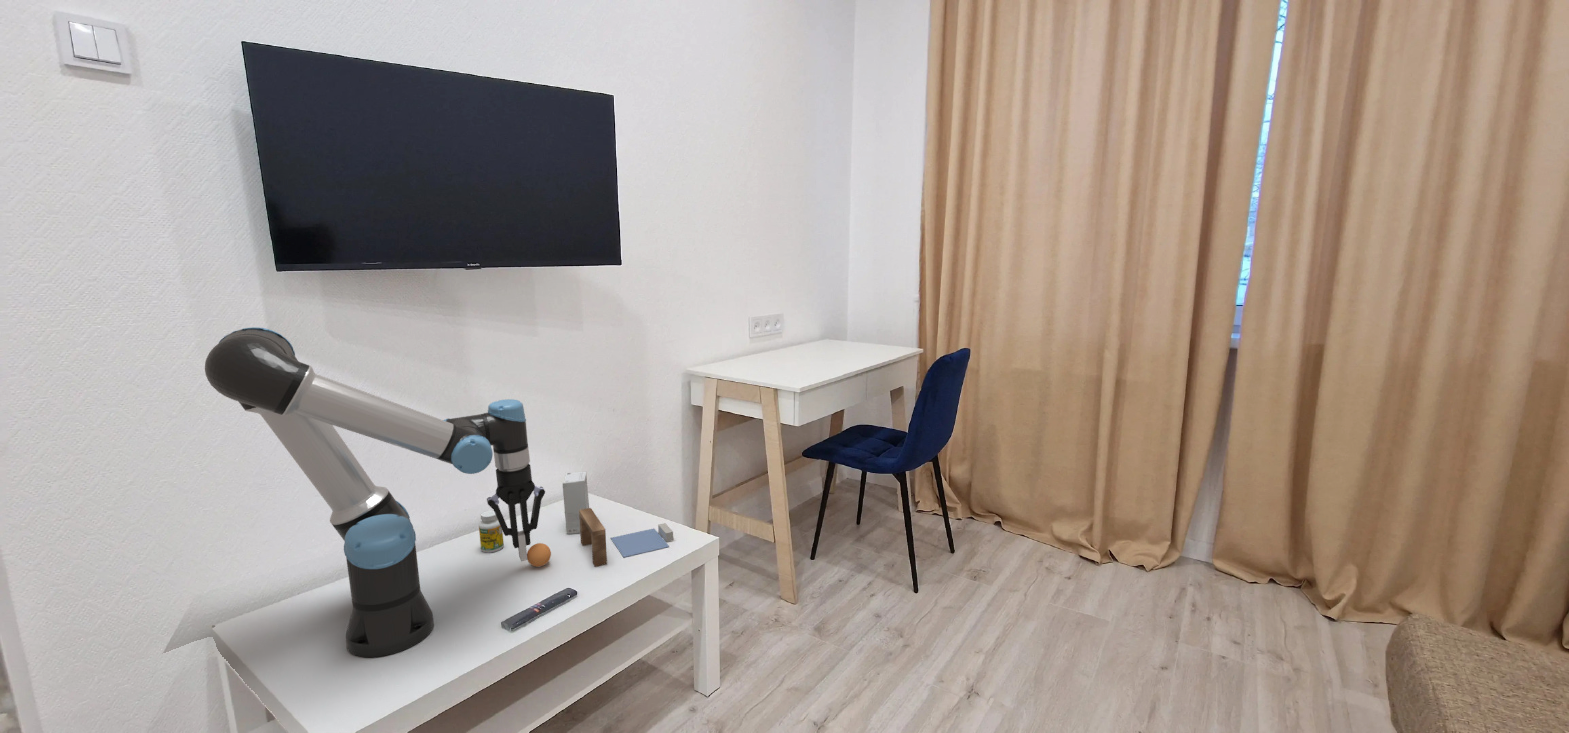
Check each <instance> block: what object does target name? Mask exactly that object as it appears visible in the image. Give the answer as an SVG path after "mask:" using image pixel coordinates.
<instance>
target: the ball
mask: <svg viewBox="0 0 1569 733" xmlns="http://www.w3.org/2000/svg"><path fill="white" fill-rule="evenodd" d="M551 556H552V551H551V548H550V547H549V546H548V545H547V544H545V543H543V542H538V543H535V544H532V545H531V546H530V547H529V548H528V550H527V559H528V560H527V562H528V563H529V564H530V565H531V566H533V567H536V568H538V567H540V568H541V567H543V566H545V565H546V564H548V562H549V561H550V560H551Z"/></svg>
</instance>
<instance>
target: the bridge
mask: <svg viewBox="0 0 1569 733" xmlns="http://www.w3.org/2000/svg"><path fill="white" fill-rule="evenodd" d="M579 519H580V533H579V535H580V544H581V545H582V546H581V547H583V546H589V545H591V554H592V555H591V558H592V565H593V567H594V568H597V567H601V566H604V565H608V556H607V538H606V536H607V533H606V528H605V527H604V524H602V522H601V521H600V519H599V517H598V516H597V515H596V513H595V511H594V510H593V509H592V508H591V507H589V508H587V509H581V510H579Z"/></svg>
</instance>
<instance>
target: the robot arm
mask: <svg viewBox="0 0 1569 733" xmlns="http://www.w3.org/2000/svg"><path fill="white" fill-rule="evenodd" d="M204 372H205V376H206V379H207V381H208V383H209V384H210V386H212V388H213V389H215V391H217V392H218V393H219V394H221V395H222V396H224V397H226V398H228V399H230V400H233V401H235V402H238V403H239V404H240V406H241V408H243V409H244V411H246V412H250V413H254V414H259V415H260V416H261V418H262V419H263V420H264V421H265V423H266V424H267V425H268V427H269V428H270V429H271V431H272V432H273V434H274V435H275V436H276V437H277V439H278V440H279V441H280V443H282V445H283V447H284V448H285V450H286V451H288V453H289V455H290V456H291V458H293V460H294V461H295V463H296V464H297V465H298V467H299V468H300V469H301V470H302V472H303V474H304V475H305V476H306V477H307V479H308V480H309V481H310V482H311V484H312V485H313V486H314V488H315V489H316V490H317V492H318V493H319V494H320V496H321V497H322V498H323V500H324V502H326V504H327V505H328V506H329V508H330V509H331V511H332V512H331V514H330V518H329V522H330V524H331V525H332V527H333V528H334V529H335V531H336V532H337V533H338V534H339V536H340V537H341V538H342V540H343V541H344V544H343V553H344V556H345V558H346V565H347V566H346V567H347V574H348V580H349V582H348V583H349V589H350V596H351V603H352V610H351V613H350V618H349V621H348V624H347V628H346V633H345V643H346V649H347V650H348V652H349V653H350V654H352V655H354V656H358V657H362V658H363V657H364V658H375V657H376V658H377V657H384V656H388V655H393V654H396V653H399V652H401V651H405V650H407V649H410V648H411V647H413V646H414V645H417V644H418V643H420V642H422V641H423V640H424V639H425V638H427V636H428V635H430V633H432V630H433V629H434V626H435V621H434V613H433V610H432V609H431V607H430V605H429V602H428V601H427V600H426V598H425V596H424V594H423V593H422V591H421V584H420V574H419V573H420V572H419V564H418V558H417V557H418V555H417V549H416V548H417V547H416V541H417V537H416V536H417V535H416V531H415V528H414V525H413V523H412V521H411V518H410V514H409V512H408V511H407V509H406V508H405V506H404V505H403V504H401V503H400V502H399V501H398V500H396V499H395V498H394V496H393V495H392V493H391V492H390V491H389V489H388V488H387V487H384V486H377V485H376V484H374V482H373V480H372V479H371V478H370V476H369V475H368V474H367V472H366V471H365V469H364V468H363V467H362V464H360V462H359V460H358V459H357V458H356V456H355V455H354V454H353V452H352V450H351V449H350V448H349V447H348V445H347V443H346V442H345V440H344V439H343V438H342V437H341V435H340V434H339V432H338V431H337V429H336V428H335V427H338V428H340V429H343V430H346V431H350V432H353V433H356V434H359V435H363V436H364V437H369V438H372V439H375V440H378V441H380V442H384V443H386V444H390V445H393V446H396V447H398V448H402V449H405V450H408V451H411V452H414V453H418V454H420V455H424V456H427V457H430V458H432V459H433V458H434V459H437V460H439V461H442V462H444V463H446V464H447V463H448V464H450V465H452V466H453V468H455V469H457V470H458V471H459V472H461V473H463V474H466V475H467V474H468V475H472V474H473V475H475V474H478V473H480V472H482V471H484V470H485V469H487V468H488V467H489V465H490V464H491V463H492V459H493V457H494V467H495V468H496V469H495V474H496V475H495V476H496V484H497V485H496V486H497V487H496V490H495V493H494V494H493V495H492V496H489V497H487V498H486V502H487V505H488V506H489V508H491V509H492V510H494V512H495V514H496V516H497V519H498V521H499V523H500V526H501V528H502V531H503V536H505V537H508V536H511V540H512V541H511V542H512V546H513V548H514V549H518V556H519V560H520V562H525V561H528V559H527V552H528V550H527V546H530V545H531V532H532V531H533V530H536V529H537V528H538V525H539V524H538V523H539V518H540V517H539V516H540V511H541V505H542V501H543V500H542V499H543V498H544V497H545V494H546V490H545V488H544V487H543V486H537V485H536V484H535V483H534V482H533V477H532V470H531V469H532V467H531V464H530V463H531V459H530V450H529V444H528V442H529V441H528V431H527V418H526V415H525V408H524V405H523V402H521V401H520V400H518V399H515V398H514V399H513V398H511V399H509V398H508V399H501V400H500V399H499V400H496V401H493V402H490V404H489V405H488V407H487V412H484V413H480V414H475V415H474V414H472V415H467V416H460V417H454V418H445V419H440V418H437V417H435V416H432V415H429V414H427V413H424V412H421V411H419V410H416V409H413V408H411V407H407V406H405V405H402V404H399V403H397V402H394V401H391V400H389V399H385V398H382V397H380V396H377V395H374V394H372V393H370V392H367V391H363V390H361V389H358V388H356V387H352V386H349V385H347V384H344V383H341V382H339V381H336V380H334V379H330V378H328V377H325V376H322V375H320V374H317V373H316V372H315V371H314V369H313V366H312V365H309V364H307V363H303V362H300V361H299V360H298V359H297V357H296V352H295V350H294V347H293V345H292V343H291V342H290V341H289V340H288V339H287V338H286V337H285V336H283V335H282V334H281V333H279V332H276V331H275V330H273V329H270V328H264V327H260V326H259V327H255V326H254V327H245V328H241V329H238V330H233V331H232V332H231V333H228V334H226V335H225V336H223V337H222V338H221V339H220V340H219V342H218V343H217V344H216V345H214V347H212V349H211V350H210V352H209V353H208V355H207V357H206V359H205V363H204ZM532 494H533V495H534V497H533V502H532V503H533V504H532V509H531V516H530V522H529V514H528V513H529V512H528V504H527V501H528V500H529V499H530V497H531V495H532ZM499 499H500V500H501V501H502V502H504V503H505V504H507V507H508V508H507V509H508V516H509V523H510V524H509V525H510V527H508V525H507V523H506V520H505V518H504V516H503V513H502V511H501V509H500V507H499V503H500V500H499ZM518 504H519V507H520V508H519V509H520V517H521V525H522V530H519V529H518V523H517V511H516V505H518Z"/></svg>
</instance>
